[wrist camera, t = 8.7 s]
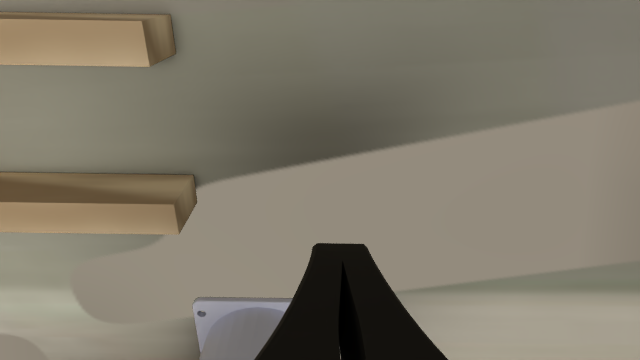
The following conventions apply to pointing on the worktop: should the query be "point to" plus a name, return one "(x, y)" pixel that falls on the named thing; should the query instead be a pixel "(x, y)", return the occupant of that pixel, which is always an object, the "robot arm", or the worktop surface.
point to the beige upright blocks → (81, 188)
